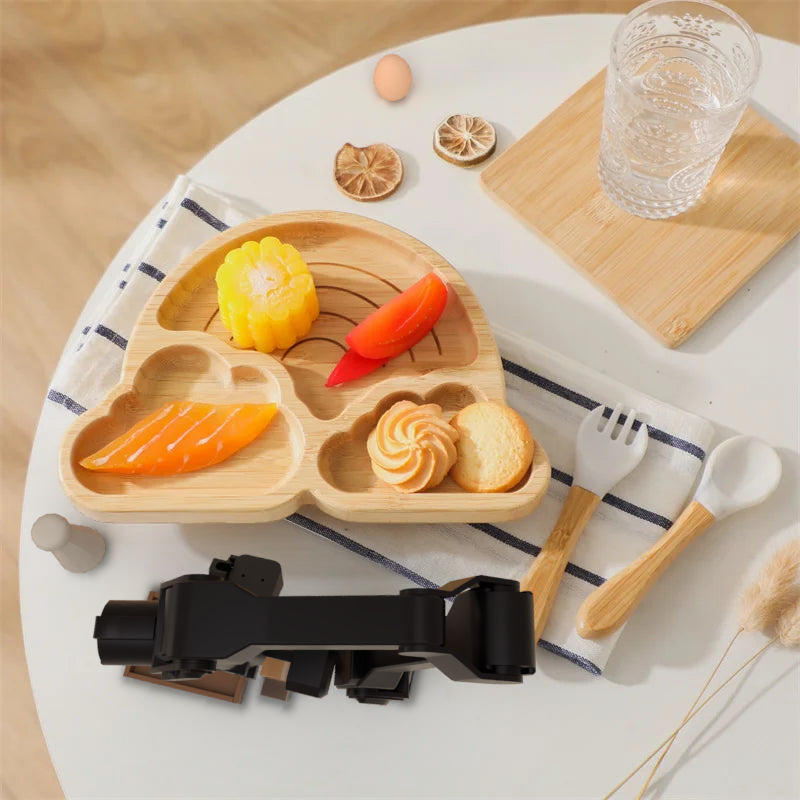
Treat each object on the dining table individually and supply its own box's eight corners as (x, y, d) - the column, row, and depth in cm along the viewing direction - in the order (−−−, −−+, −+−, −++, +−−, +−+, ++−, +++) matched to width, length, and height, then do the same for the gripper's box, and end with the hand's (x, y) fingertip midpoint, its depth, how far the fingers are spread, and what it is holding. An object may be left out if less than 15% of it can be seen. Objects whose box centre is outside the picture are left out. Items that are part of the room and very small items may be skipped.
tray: (264, 618, 111) (261, 616, 109) (241, 704, 107) (237, 703, 105) (154, 593, 112) (149, 590, 111) (128, 677, 109) (122, 675, 107)
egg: (403, 74, 140) (401, 38, 133) (418, 101, 138) (417, 66, 131) (369, 87, 139) (365, 51, 132) (384, 115, 137) (381, 80, 130)
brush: (304, 640, 110) (294, 633, 103) (288, 702, 107) (277, 698, 100) (280, 635, 110) (269, 627, 103) (264, 696, 108) (251, 692, 101)
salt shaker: (102, 581, 113) (61, 560, 101) (59, 572, 114) (13, 550, 102) (116, 535, 115) (78, 510, 103) (74, 527, 116) (31, 500, 104)
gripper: (344, 574, 85) (360, 600, 100) (158, 532, 88) (200, 563, 102) (314, 695, 82) (335, 704, 96) (120, 647, 84) (169, 663, 99)
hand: (259, 654), depth 98 cm, fingers open, 9 cm apart
